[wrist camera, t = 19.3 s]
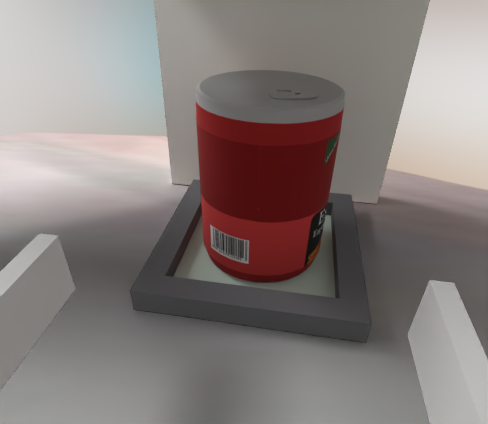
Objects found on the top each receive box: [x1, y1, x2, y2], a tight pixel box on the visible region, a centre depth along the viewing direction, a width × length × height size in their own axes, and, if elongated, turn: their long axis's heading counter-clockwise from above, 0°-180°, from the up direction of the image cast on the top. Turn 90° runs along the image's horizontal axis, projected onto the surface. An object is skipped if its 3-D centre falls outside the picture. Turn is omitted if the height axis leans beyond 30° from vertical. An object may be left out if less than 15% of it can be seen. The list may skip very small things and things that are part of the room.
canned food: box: [195, 70, 345, 283], centre depth 23 cm, size 8×8×11 cm
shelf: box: [154, 0, 430, 204], centre depth 22 cm, size 17×18×19 cm
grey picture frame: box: [130, 180, 371, 343], centre depth 26 cm, size 13×13×2 cm
